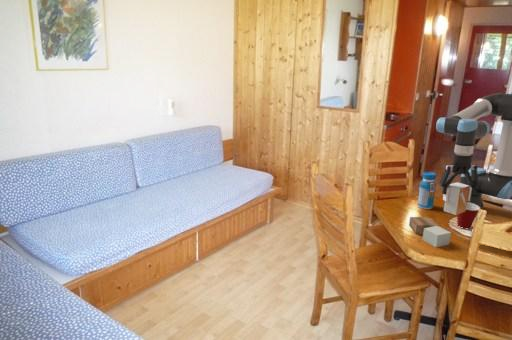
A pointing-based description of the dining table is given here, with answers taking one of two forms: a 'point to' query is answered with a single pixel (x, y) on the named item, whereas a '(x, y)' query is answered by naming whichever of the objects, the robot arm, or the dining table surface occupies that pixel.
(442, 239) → the grey block
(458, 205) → the small box
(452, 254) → the dining table surface
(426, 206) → the beverage bottle
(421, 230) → the walnut block
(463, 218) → the plastic cup
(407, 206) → the dining table surface
